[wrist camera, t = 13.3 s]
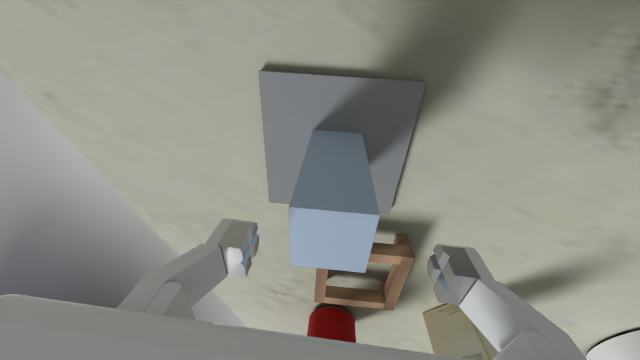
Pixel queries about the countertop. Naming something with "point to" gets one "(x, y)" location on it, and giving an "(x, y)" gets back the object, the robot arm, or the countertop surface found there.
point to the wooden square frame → (389, 290)
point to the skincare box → (456, 334)
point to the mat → (336, 124)
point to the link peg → (333, 205)
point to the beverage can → (332, 324)
